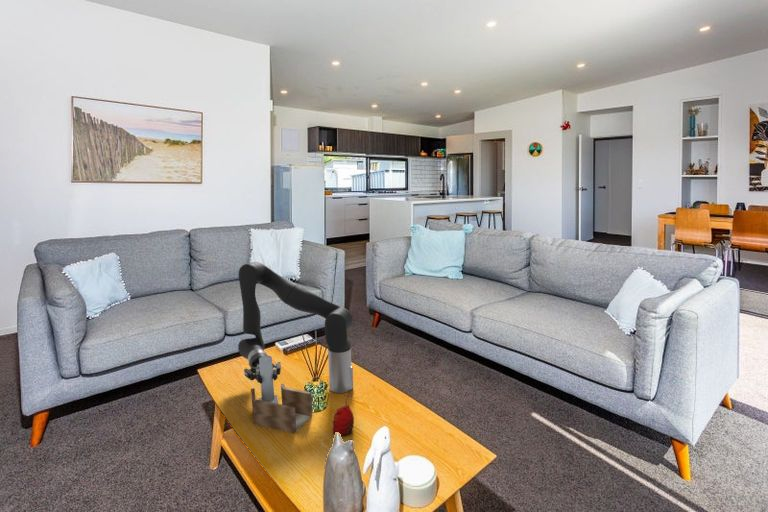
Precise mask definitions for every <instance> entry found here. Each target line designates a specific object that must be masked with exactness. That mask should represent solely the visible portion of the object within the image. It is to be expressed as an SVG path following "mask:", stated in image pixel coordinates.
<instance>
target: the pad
mask: <svg viewBox="0 0 768 512" xmlns="http://www.w3.org/2000/svg"><path fill="white" fill-rule="evenodd" d="M258 400H262V396H261V397H258ZM278 400H279V398H278V394H274V400H273V401H271V403H276V404H279V401H278Z"/></svg>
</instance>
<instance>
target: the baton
mask: <svg viewBox="0 0 768 512" xmlns="http://www.w3.org/2000/svg"><path fill="white" fill-rule="evenodd" d="M272 363H273V357H272V356H270V355H267V356H262V357H260V358H259V364H260V375H261V377H262V383H261V384H260V393H261V397H262V401H266V402H271V401H273V400H274V395H275V387H274V386H275V385H274V379H273V368H272Z"/></svg>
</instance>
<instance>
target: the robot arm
mask: <svg viewBox="0 0 768 512" xmlns="http://www.w3.org/2000/svg"><path fill="white" fill-rule="evenodd" d="M238 281H239V288H240V289H239V290H240V295H241V301H242V311H243V312H242V313H243V314H242V331H243V332H244V334H247V335H251V336H252V335H253V336H255V337H249V338H243V339H241V340H240V341H239V343H238V345H237V349H238V352H239V354H240V355H241V357H243V358H245V359H246V360H247V362H248V366H249V367H250V369H249V368H244V369H243V371H244V373H243V374H244V376H245V377H246V379H248V380H250V381H254V380H256V381H257V383H259V384H260V385H261V383H262V377H261V375H260V364H259V358H260V357H262V356H268V354H267V353H266V352H265V342H264V340H263V336H262V329H261V310H260V306H259V305H258V302H257V297H256V287H257V284H258V285H262V286H265V287H266V288H268V289H270V290H271V291H273V293H275V294H276V297H278V298H279V300H281V301H282V302H283V303H284V304H285V305H287V306H289V307H291V308H292V309H294V310H296V311H300V312H305V313H310V314H315V315H318V316H320V317H322V318H324V319H325V320H324V331H325V332H324V334H325V343H326V345H327V349H328V350H327V353H328V355H327V356H328V358H327V359H328V380H329V381H328V385H329V386H328V387H329V390H330V392H333V393H335V394H342V393H344V394H345V393H347V392H349V391H351V390H354V368H353V366H352V343H351V341H350V339H348V329H349V328H350V327H351V326H352V325H353V323H354V317H353V315H352V313H351V311H349V310H348V309H347V308H345V307H343V306H341V305H338V304H336V303H334V302H331V301H328V300H326V299H324V298H323V297H321V296H320V295H317V294H315V292H311V291H310V290H308V289H307V288H305V287H303V286H301V285H299V284H297V283H295V282H293V280H290V279H288V278H286V277H285V276H282V275H280V274H278V273H277V272H276V271H274V270H273V269H271V268H270V267H268V266H267V265H265V264H264V263H262V262H258V261H254V262H249V263H244V264H243V265H241V267H240V268H239V269H238ZM272 368H273V382H274V381H277V379H278V378H279V377H278V375H281V371H282V363H281V361H278V362H277V363H275V364H274V362H272Z"/></svg>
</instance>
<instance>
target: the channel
mask: <svg viewBox="0 0 768 512" xmlns="http://www.w3.org/2000/svg"><path fill="white" fill-rule="evenodd" d="M285 386H286V385H285V383H281V384H280V394H281V404H280V403H278V404H276V403H271V402H266V401H262V400H259V399H257V398H256V393H255V392H256V391H255V390H256V389H255V388H250V390H251V391H250V392H251V393H250V394H251V395H250V396H251V406H252V408H251V409H252V419H253V425H257V426H259V427H260V426H261V427H266V428H269V429H273V430H277V431H281V432H285V433H288V434H289V433H291V434H293V435H294V434H296V433H297V432H298V431H299V430H300V429H302V427H303V426H304V425H305V424H306V423H307V422H308V421H309V420H310V419H311V418H312V417H313V401H312V392H311V391H306V390H301V389H297V388H296V389H295V388H290V387H285Z"/></svg>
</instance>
